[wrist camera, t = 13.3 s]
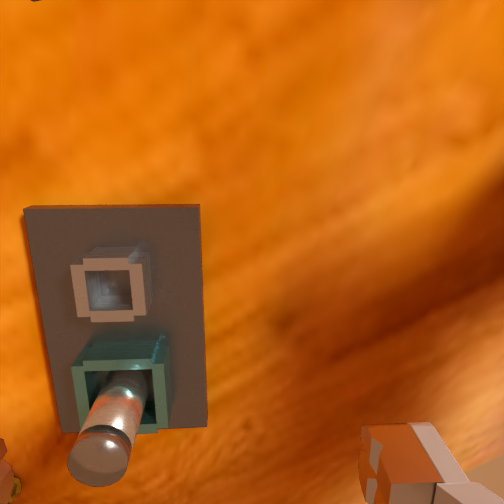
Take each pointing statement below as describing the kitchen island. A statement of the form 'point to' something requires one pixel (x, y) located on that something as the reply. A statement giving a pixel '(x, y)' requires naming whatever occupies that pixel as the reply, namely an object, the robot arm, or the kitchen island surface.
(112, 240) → the manifold plate
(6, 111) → the kitchen island surface
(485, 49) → the kitchen island surface
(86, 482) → the fitting
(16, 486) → the sprinkler
